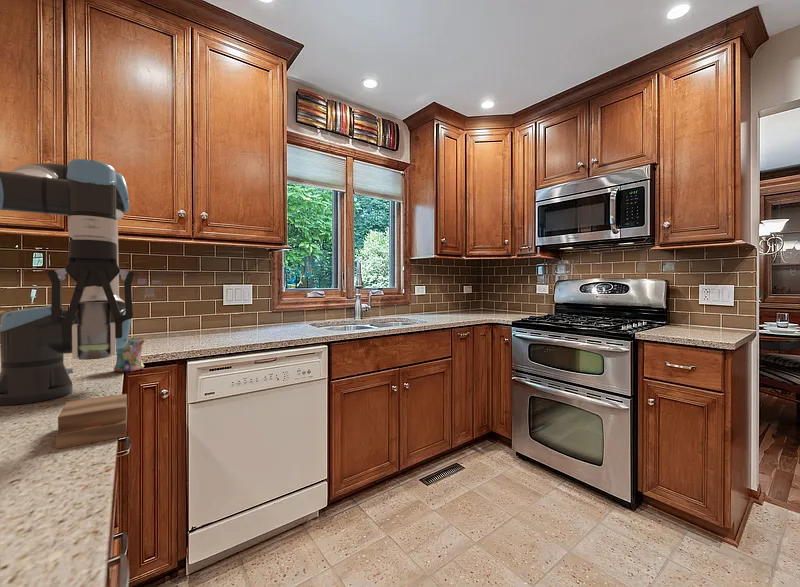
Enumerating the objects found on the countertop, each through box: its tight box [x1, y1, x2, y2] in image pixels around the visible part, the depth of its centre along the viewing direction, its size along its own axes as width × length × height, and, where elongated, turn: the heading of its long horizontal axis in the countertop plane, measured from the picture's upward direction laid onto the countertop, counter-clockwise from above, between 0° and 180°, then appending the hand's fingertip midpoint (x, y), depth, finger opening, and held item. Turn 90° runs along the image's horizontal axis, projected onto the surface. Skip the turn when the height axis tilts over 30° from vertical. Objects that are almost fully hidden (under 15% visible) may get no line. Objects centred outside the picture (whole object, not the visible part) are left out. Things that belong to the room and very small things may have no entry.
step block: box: [55, 393, 128, 450], centre depth 75 cm, size 14×10×5 cm
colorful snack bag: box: [113, 337, 146, 373], centre depth 127 cm, size 12×9×11 cm
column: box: [78, 302, 112, 361], centre depth 75 cm, size 5×5×11 cm
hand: (95, 355), depth 76 cm, fingers closed on column, 5 cm apart
